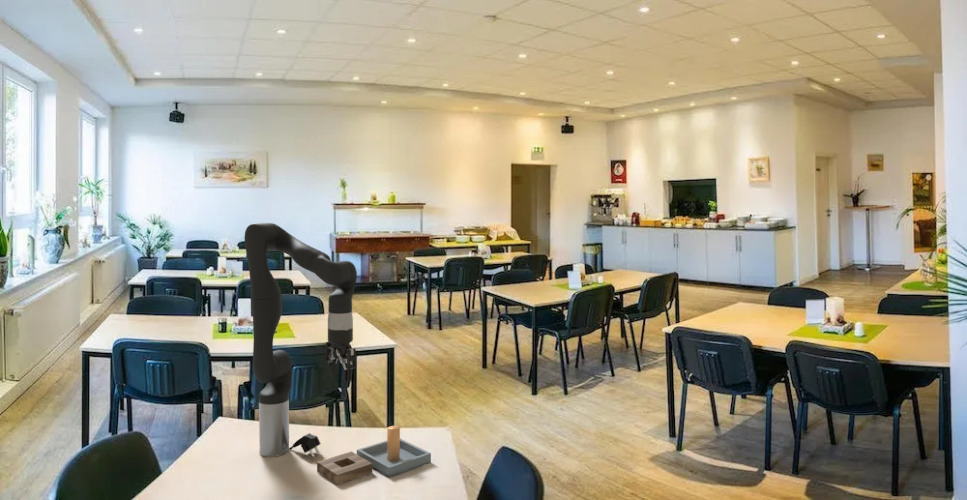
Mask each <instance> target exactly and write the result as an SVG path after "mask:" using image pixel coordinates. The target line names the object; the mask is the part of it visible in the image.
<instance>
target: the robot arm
mask: <svg viewBox="0 0 967 500" xmlns="http://www.w3.org/2000/svg"><path fill="white" fill-rule="evenodd" d="M244 246H245V253H246V259H247V264H248V272H249V281H250V282H249V283H250V296H251V297H250V300H251V301H250V302H251V311H252V312H251V313H252V326H253V327H252V328H253V330H252V331H253V348H252V350H253V351H252V371H253V374H254V377H255V378H256V380H257V381H258V382H259V383H261V384H266V385H265V386H264V388H263V389H262V390H260V392H259V394H258V409H259V410H258V415H259V416H258V418H259V420H258V421H259V422H258V426H259V429H258V430H259V432H258V433H259V454H260V455H261V456H263V457H270V458H271V457H272V458H273V457H279V456H281V455H282V456H283V455H285V454H287V453H288V452H289V451H290V450H289V448H290V412H289V411H290V409H289V408H290V407H289V405H290V401H289V399H290V398H289V397H290V392H291V390H292V377H293V376H292V375H293V374H292V373H293V368H292V367H293V364H292V359H291V356H290V354H288V352H287V351H285V350H282V349H277V350H274V346H273V345H274V336H275V334H276V330H277V327H278V326H279V322H280V320H281V318H282V313H283V303H282V302H283V300H282V298H283V297H282V291H281V288H280V285H279V283H278V282H277V280H276V279H275V278H274V276H273V274H272V272H271V271H270V268H269V264H268V257H267V254H268V252H272V251H277V252H280V253H284V254H286V255H288V256H290V257H291V259H292V260H293V261H294V262H295V264H297V266H299V267H301V268H303V269H304V270H307V271H309V272H311V273H313V274H314V275H316V276H317V277H318V278H319V279H320V280H321V281H323V282H324V283H325V284H327V285H330V286H336V287H335V290H334V291H333V292H331V293H330V294H329V295H328V308H327V309H328V316H327V341H325V354H324V355H325V357H324V359H325V361H327V363H328V365H329V376H331V377H334V376H337V375H338V361H339V362H340V364H342V367H343V382H345V383H348V382H351V381H352V378H353V377H352V375H353V373H352V371H353V370H354V369H356V368H357V350H356V348H355V347H354V348H350V343H352V342H353V340H354V318H353V295H354V292H355V288H356V283H357V279H358V277H357V276H358V274H357V268H356V266H355V264H354V263H353V262H351V261H349V260H342V261H332V260H331V257H330V256H329V255H328V254H327V253H325V252H323V251H321V250H319V249H317V248H315V247H313V246H311V245H309V244H306V243H305V242H303V241H301V240H299V239H298V238H296V237H295V236H294V235H292V234H290V233H289V232H288V231H286V230H285V229H283V228H282V227H281V226H279V225H277V224H276V223H274V222H273V223H272V222H256V223H250V224H249V225H248V226H247V227H246V229H245V231H244Z"/></svg>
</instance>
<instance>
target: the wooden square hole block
mask: <svg viewBox="0 0 967 500" xmlns="http://www.w3.org/2000/svg"><path fill="white" fill-rule="evenodd" d="M316 472H317V473H318V474H320V475H321V476H323V477H325V479H328V480H329V481H330V482H332V483H334V484H335V485H337V486H338V485H341V484H344V483H347V482H350V481H352V480H356V479H358V478H362V477H365V476H367V475H370V474H372V473H373V468H372V463H371V462H369V461H367V460H366V459H364V458H362V457H360V456H359V455H357V453H355V452H353V451H349V452H345V453H341V454H339V455H336V456H332V457H330V458H329V457H327V458H326V459H323V460H319V461H316Z"/></svg>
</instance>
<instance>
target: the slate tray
mask: <svg viewBox="0 0 967 500" xmlns="http://www.w3.org/2000/svg"><path fill="white" fill-rule="evenodd" d="M356 454H357V455H359V456H360V457H362V458H364V459H366V460H367V461H369V462H371V463H372V469H374V470H375V471H377V472H379V473H380V474H382V475H384V476H386V477H387V478H392V477H394V476H396V475H400V474H402V473H405V472H408V471H410V470H414V469H417V468H420V467H422V466H424V465H425V466H426V465H428V464H431V463H432V453H431V452H429V451H427V450H425V449H423V448H421V447H420V446H417V445H415V444H412V443H411V442H408V441H406V440H405V439H402V438H400V459H399V460H397V461H389V460H387V440H383V441H381V442H378V443H375V444H372V445H367V446H365V447H361V448H358V449H356Z"/></svg>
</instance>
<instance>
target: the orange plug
mask: <svg viewBox="0 0 967 500" xmlns="http://www.w3.org/2000/svg"><path fill="white" fill-rule="evenodd" d="M386 430H387V431H386V441H387V460H389V461H397V460H399V459H400V439H401V438H400V437H401V427H400V426H397V425H391V426H388V427H387V428H386Z"/></svg>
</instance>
